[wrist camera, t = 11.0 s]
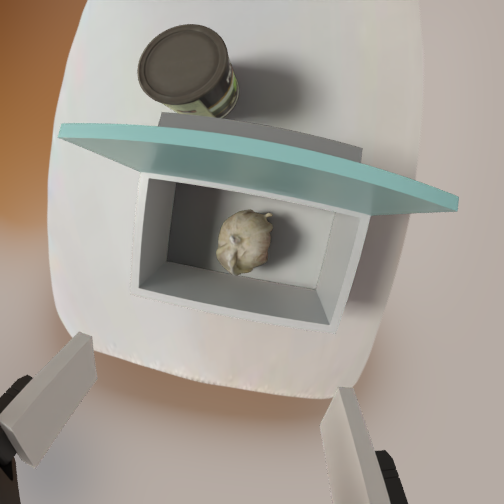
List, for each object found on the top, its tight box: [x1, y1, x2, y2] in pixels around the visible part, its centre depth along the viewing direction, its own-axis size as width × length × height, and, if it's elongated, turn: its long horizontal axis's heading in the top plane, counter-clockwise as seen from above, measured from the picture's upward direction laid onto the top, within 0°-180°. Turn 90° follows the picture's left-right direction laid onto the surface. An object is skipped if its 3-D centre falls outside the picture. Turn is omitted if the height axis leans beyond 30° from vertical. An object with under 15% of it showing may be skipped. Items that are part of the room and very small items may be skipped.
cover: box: [58, 112, 459, 216], centre depth 23 cm, size 16×27×2 cm
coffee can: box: [138, 24, 239, 118], centre depth 33 cm, size 10×10×14 cm
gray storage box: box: [130, 172, 371, 334], centre depth 39 cm, size 16×27×12 cm, turn 79°
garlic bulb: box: [216, 210, 273, 276], centre depth 41 cm, size 9×8×10 cm
